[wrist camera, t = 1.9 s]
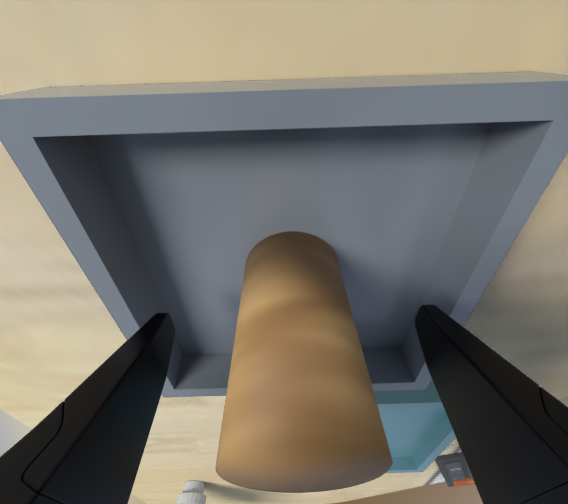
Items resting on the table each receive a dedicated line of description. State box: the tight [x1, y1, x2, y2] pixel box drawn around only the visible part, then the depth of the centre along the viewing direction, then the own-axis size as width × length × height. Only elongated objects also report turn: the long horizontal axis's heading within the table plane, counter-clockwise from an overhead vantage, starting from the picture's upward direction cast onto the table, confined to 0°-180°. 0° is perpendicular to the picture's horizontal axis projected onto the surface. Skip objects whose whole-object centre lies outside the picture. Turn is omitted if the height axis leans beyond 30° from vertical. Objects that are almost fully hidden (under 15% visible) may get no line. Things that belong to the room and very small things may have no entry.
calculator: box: [435, 452, 475, 487], centre depth 30 cm, size 12×1×15 cm
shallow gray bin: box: [0, 71, 568, 397], centre depth 11 cm, size 14×14×2 cm
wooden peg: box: [216, 231, 393, 493], centre depth 9 cm, size 4×4×7 cm
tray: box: [374, 379, 456, 473], centre depth 22 cm, size 15×15×2 cm
